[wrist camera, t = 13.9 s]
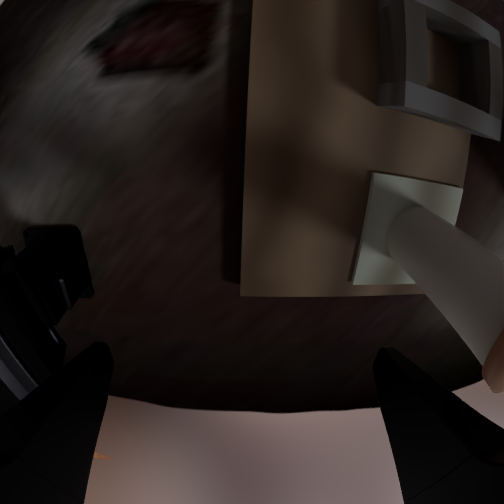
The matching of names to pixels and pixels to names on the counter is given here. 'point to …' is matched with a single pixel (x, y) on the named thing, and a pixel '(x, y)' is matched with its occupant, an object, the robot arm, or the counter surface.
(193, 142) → the counter surface
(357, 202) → the board
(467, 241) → the white cylinder brown top
